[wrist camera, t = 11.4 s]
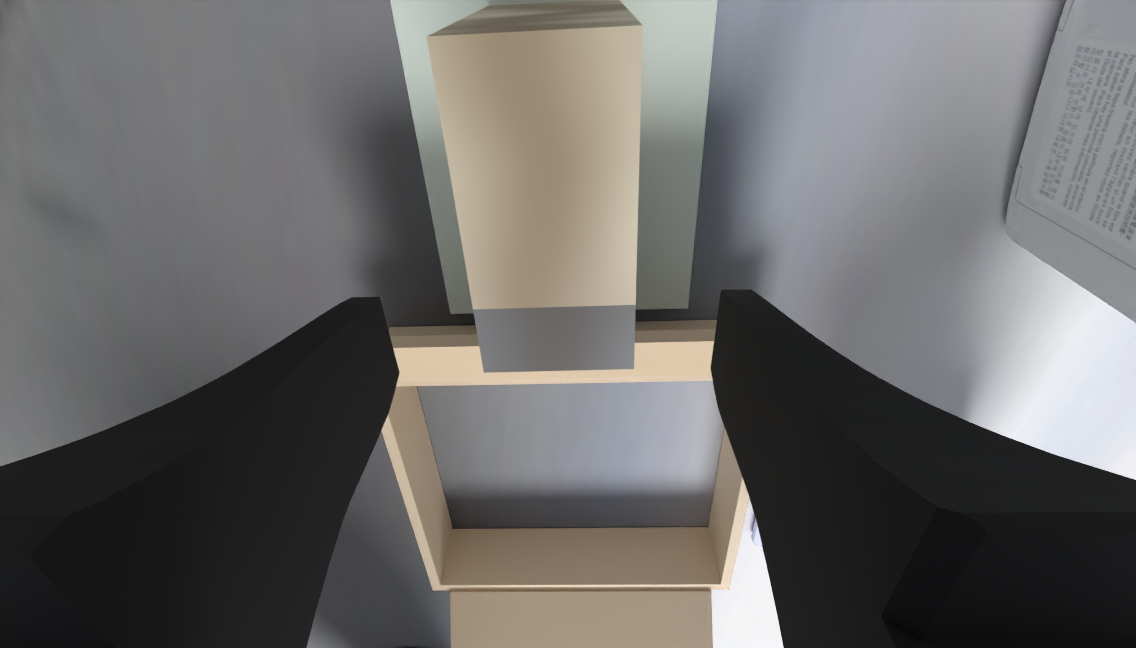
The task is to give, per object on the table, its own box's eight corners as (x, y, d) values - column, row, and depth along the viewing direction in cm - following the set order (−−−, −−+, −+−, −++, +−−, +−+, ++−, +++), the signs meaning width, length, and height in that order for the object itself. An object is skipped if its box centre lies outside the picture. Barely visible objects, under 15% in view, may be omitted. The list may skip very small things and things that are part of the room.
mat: (728, -169, 15) (733, -173, 14) (685, 300, 23) (687, 308, 23) (368, -148, 15) (361, -151, 15) (453, 306, 24) (450, 314, 23)
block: (618, -2, 17) (643, 25, 10) (617, 239, 21) (633, 369, 14) (488, 5, 17) (426, 36, 10) (514, 243, 21) (483, 372, 15)
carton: (765, 247, 22) (820, 333, 17) (709, 565, 34) (731, 669, 29) (371, 258, 22) (312, 343, 17) (455, 567, 34) (433, 668, 30)
